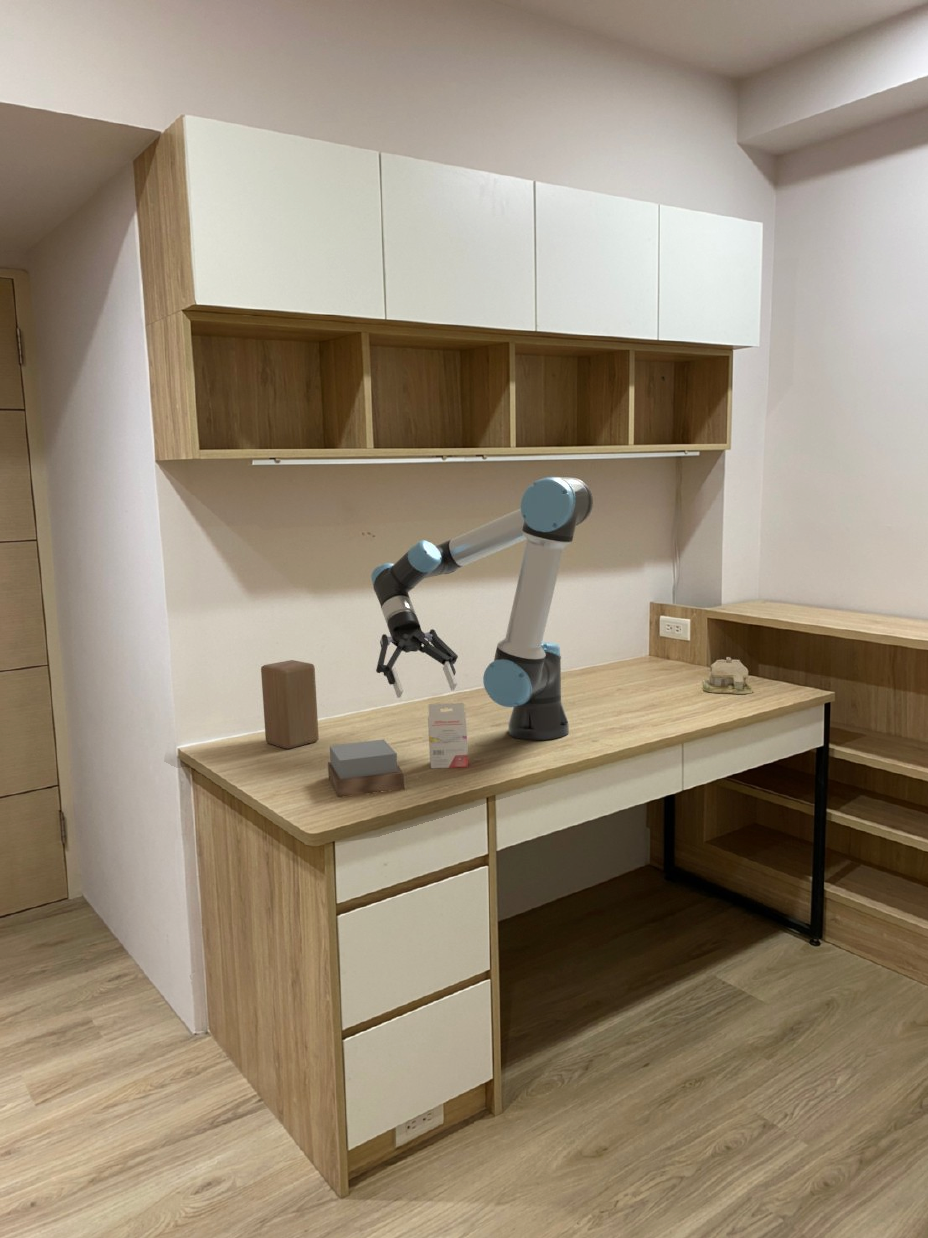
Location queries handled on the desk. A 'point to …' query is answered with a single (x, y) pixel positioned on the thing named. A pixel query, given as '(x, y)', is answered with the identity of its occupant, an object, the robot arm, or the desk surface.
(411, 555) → the robot arm
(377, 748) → the slate grey top slab
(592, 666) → the desk surface
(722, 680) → the ceramic model
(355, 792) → the walnut base slab
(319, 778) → the desk surface
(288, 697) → the wooden block
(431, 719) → the ink cartridge box
